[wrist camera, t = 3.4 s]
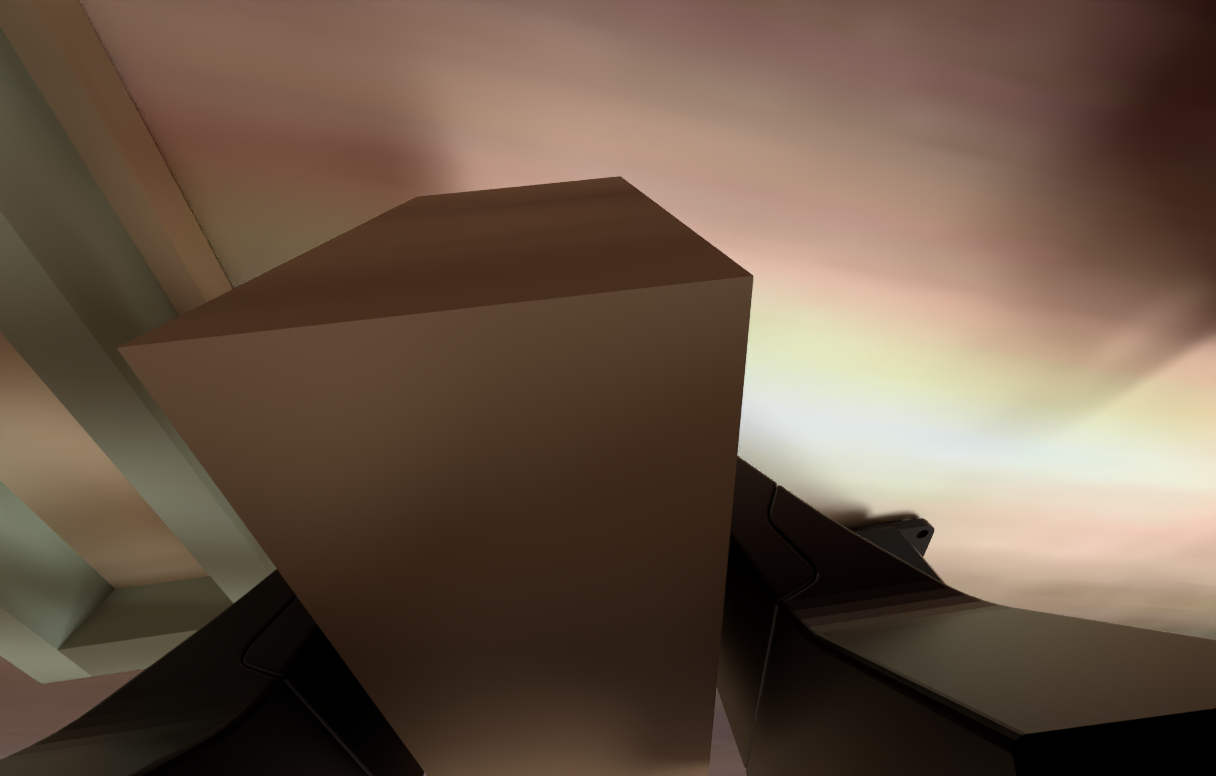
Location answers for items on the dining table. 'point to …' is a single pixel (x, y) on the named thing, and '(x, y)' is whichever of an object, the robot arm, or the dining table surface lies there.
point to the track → (96, 372)
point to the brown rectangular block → (490, 466)
